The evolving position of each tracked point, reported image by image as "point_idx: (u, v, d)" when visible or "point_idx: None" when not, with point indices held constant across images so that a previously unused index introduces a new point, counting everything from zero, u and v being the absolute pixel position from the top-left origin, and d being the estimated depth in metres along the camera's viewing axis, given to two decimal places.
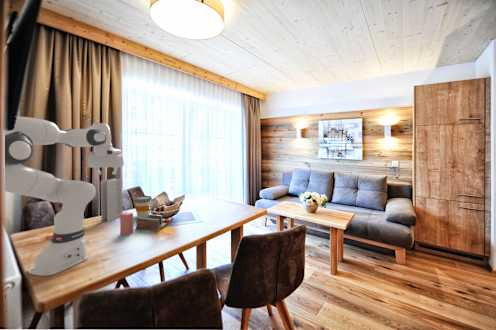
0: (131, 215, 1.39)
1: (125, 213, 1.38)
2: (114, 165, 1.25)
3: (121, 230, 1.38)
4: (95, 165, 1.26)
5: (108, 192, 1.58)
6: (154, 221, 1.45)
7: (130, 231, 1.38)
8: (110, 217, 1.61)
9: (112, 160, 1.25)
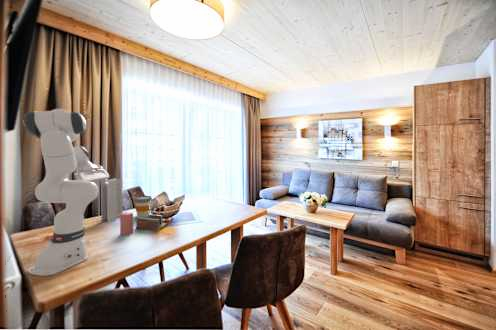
0: (131, 215, 1.39)
1: (125, 213, 1.38)
2: (106, 176, 1.47)
3: (121, 230, 1.38)
4: (90, 178, 1.35)
5: (108, 192, 1.58)
6: (154, 221, 1.45)
7: (130, 231, 1.38)
8: (110, 217, 1.61)
9: (102, 173, 1.46)
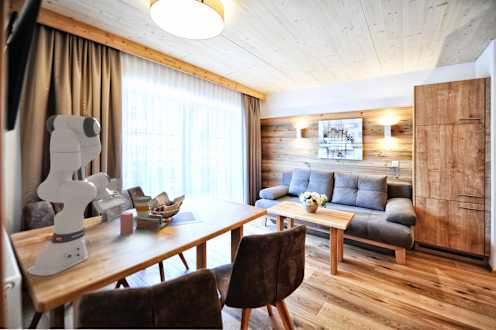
0: (131, 215, 1.39)
1: (125, 213, 1.38)
2: (122, 202, 1.46)
3: (121, 230, 1.38)
4: (108, 206, 1.35)
5: None
6: (154, 221, 1.45)
7: (130, 231, 1.38)
8: (110, 217, 1.61)
9: (118, 199, 1.45)
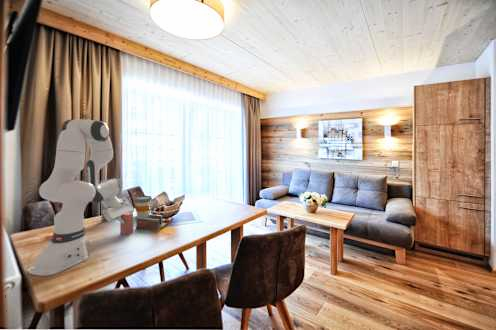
0: (131, 215, 1.39)
1: (125, 213, 1.38)
2: (131, 210, 1.45)
3: (121, 230, 1.38)
4: (117, 215, 1.34)
5: None
6: (154, 221, 1.45)
7: (130, 231, 1.38)
8: None
9: (127, 207, 1.45)
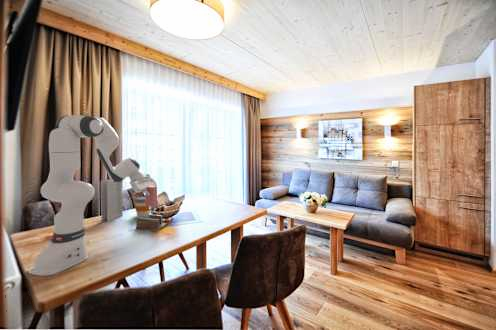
0: (155, 188, 1.49)
1: (150, 186, 1.48)
2: (154, 184, 1.55)
3: (146, 202, 1.48)
4: (143, 187, 1.44)
5: (108, 192, 1.58)
6: (154, 221, 1.45)
7: (154, 203, 1.48)
8: (110, 217, 1.61)
9: (150, 181, 1.55)
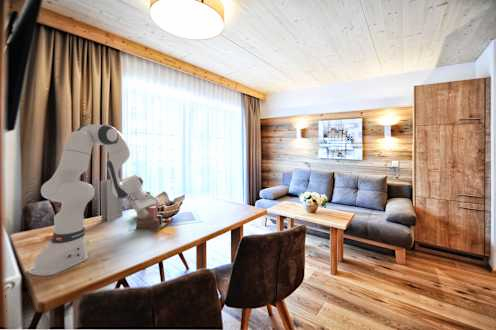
0: (156, 208, 1.50)
1: (150, 206, 1.50)
2: (154, 202, 1.56)
3: None
4: (144, 206, 1.45)
5: (108, 192, 1.58)
6: (154, 221, 1.45)
7: None
8: (110, 217, 1.61)
9: (151, 199, 1.56)
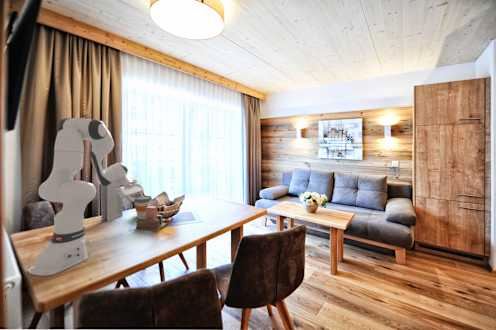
0: (156, 208, 1.50)
1: (150, 206, 1.50)
2: (141, 189, 1.57)
3: None
4: (129, 192, 1.46)
5: (108, 192, 1.58)
6: (154, 221, 1.45)
7: None
8: (110, 217, 1.61)
9: (137, 187, 1.57)
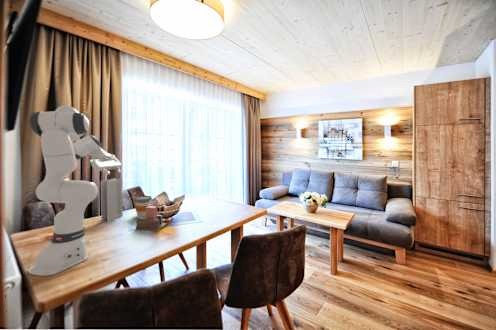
0: (156, 208, 1.50)
1: (150, 206, 1.50)
2: (118, 164, 1.52)
3: None
4: (104, 165, 1.41)
5: (108, 192, 1.58)
6: (154, 221, 1.45)
7: None
8: (110, 217, 1.61)
9: (114, 161, 1.52)
